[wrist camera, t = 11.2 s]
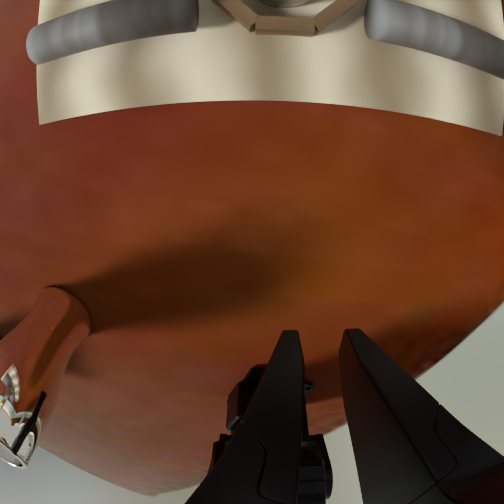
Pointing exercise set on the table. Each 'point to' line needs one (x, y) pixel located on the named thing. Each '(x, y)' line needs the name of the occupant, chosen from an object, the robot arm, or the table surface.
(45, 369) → the beer glass
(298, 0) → the metal cup
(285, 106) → the table surface
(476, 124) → the shaft board
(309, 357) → the table surface
